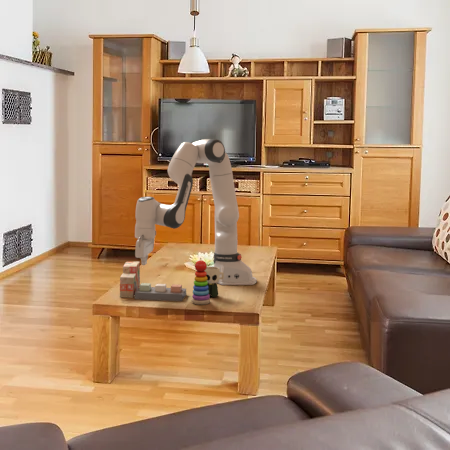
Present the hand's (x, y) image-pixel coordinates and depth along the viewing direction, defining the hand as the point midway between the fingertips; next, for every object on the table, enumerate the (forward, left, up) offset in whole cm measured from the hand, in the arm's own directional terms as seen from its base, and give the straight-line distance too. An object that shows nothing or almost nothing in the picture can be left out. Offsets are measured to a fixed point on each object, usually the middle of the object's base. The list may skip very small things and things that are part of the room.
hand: (144, 264), depth 299 cm
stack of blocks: (+8, -7, -15) cm, 18 cm away
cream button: (-8, 0, -12) cm, 14 cm away
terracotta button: (-15, 0, -12) cm, 19 cm away
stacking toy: (-27, +7, -15) cm, 31 cm away
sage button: (-1, 0, -12) cm, 12 cm away
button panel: (-8, 0, -14) cm, 16 cm away
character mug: (-30, -5, -15) cm, 33 cm away
